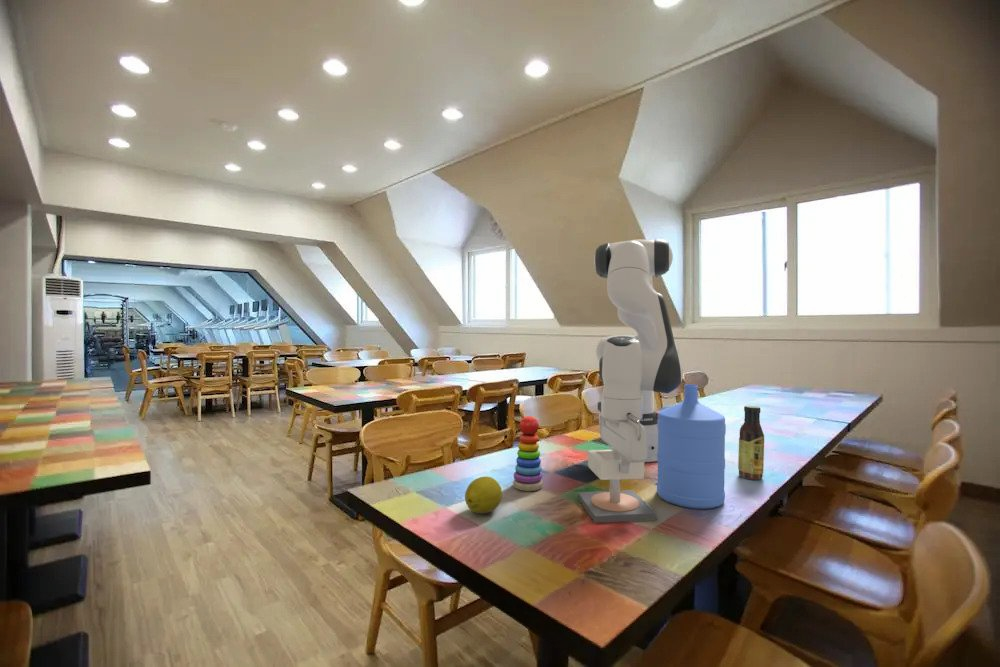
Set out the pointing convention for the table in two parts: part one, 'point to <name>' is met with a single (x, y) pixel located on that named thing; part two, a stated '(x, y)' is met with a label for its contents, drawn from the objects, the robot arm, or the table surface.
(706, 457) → the water jug
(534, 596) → the table surface
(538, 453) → the stacking toy
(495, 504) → the lemon
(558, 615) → the table surface
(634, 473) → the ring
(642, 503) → the rod stand
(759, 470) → the sauce bottle
